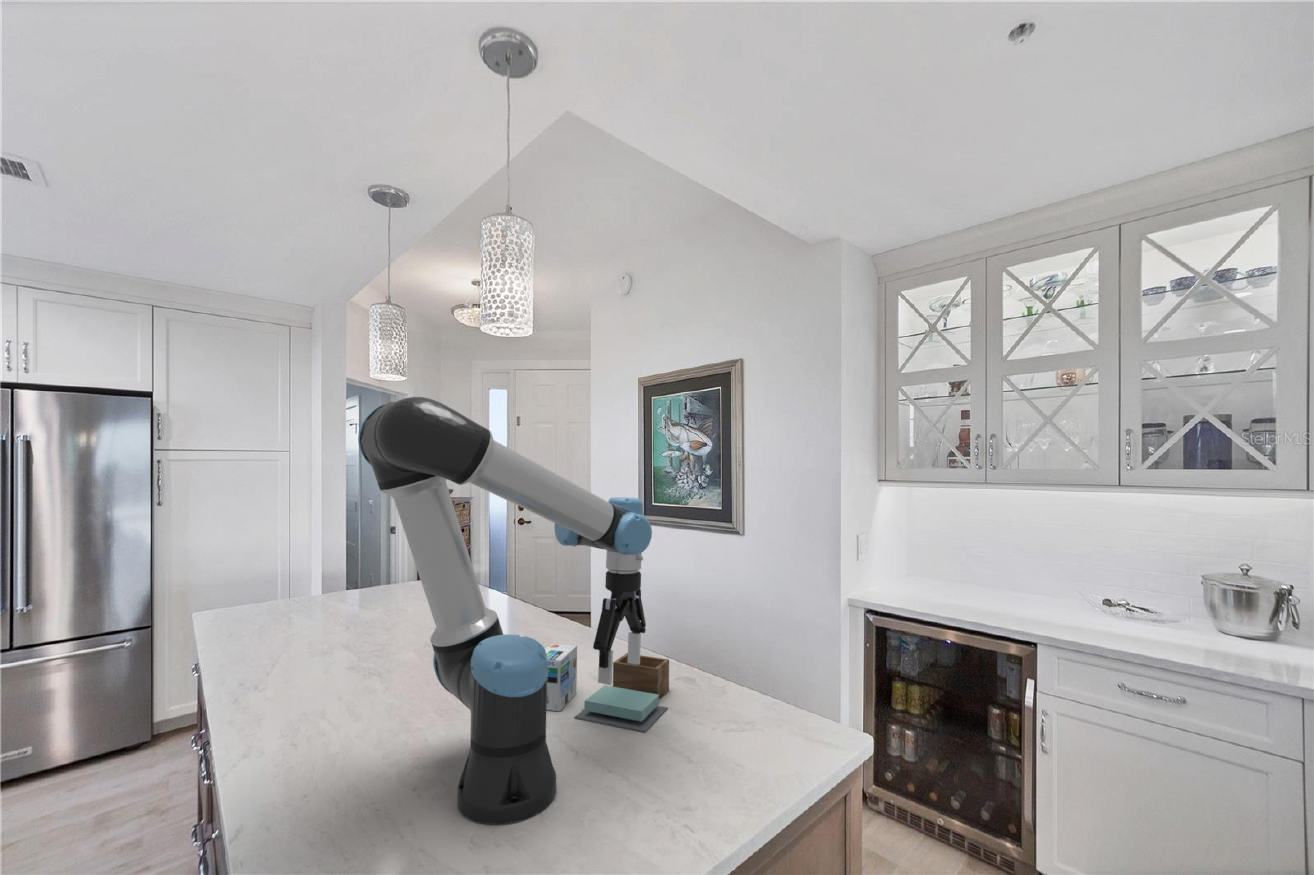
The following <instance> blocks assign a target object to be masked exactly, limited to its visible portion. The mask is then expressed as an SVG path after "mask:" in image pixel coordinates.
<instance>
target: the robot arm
mask: <svg viewBox="0 0 1314 875" xmlns="http://www.w3.org/2000/svg"><path fill="white" fill-rule="evenodd" d="M359 427H360V428H359V431H358V438H357V441H358V446H359V450H360V453H361V455H362V457H363V458H364V460H365V461H366V462H367V463H368V464H369V465H370V466H371V468H372V471H373V473H374V477H375V479H376V483H377V486H378V488H379V491H380V492H381V493H383V494H385V495H388V496H390V497H391V498H392V499H393V501H394V503H395V507H396V510H397V513H398V515H399V519H400V523H401V525H402V528H403V531H404V533H405V534H404V535H405V537H406V541H407V543H408V546H409V549H410V553H411V555H412V558H413V561H414V564H415V566H416V570H417V571H416V572H417V573H418V576H419V577H418V578H419V580H420V582H421V585H422V588H423V591H424V594H425V597H426V600H427V603H428V606H429V610H430V612H431V615H432V619H433V622H434V624H435V625H434V626H435V629H434V630H433V632H432V634H431V635H430V636H431V637H430V640H429V641H430V643H431V646H432V649H433V652H434V653H433V657H432V658H433V659H432V660H433V661H432V663H433V670H434V673H435V676H436V678H437V680H438V682H439V683H440V685H441V686H442V687H443V689H445V690H446V692H448V693H450V694H452V695H453V696H454V697H455V698H456V699H457V700H459V701H460V703H462V704H463V705H464V706H465V707H466V708H467V709H468V710H469V711H470V740H469V741H470V742H469V743H470V745H469V752H468V755H467V758H466V759H465V763H464V766H463V770H462V773H461V775H460V779H459V782H458V784H457V791H456V800H457V801H456V806H457V809H458V810H459V813H461V815H462V816H464V817H465V818H467V819H468V820H471V821H473V822H476V823H481V824H485V825H486V824H487V825H488V824H489V825H502V824H511V823H515V822H519V821H522V820H526V819H528V818H531V817H533V816H535V815H537V814H538V813H540V812H542V811H543V810H545V809H546V808H547V807H548V806H549V805H550V804H551V803H552V802H553V801H554V799H555V797H556V793H557V774H556V773H557V772H556V770H555V767H554V765H553V762H552V757H551V754H550V750H549V747H548V745H547V744H548V743H547V710H546V708H547V677H548V665H547V656H546V651H545V647H544V646H543V644H541V642H539V641H538V640H536V639H534V638H533V637H529V636H520V634H504V633H503V629H502V626H501V623H500V619H499V617H498V613H497V612H496V611H495V610H493V609H490V608H487V607H486V605H485V602H484V598H483V596H482V593H481V592H482V591H481V590H480V586H479V583H478V580H477V577H476V576H477V575H476V573H475V570H474V567H473V563H472V560H471V557H470V553H469V551H468V548H467V545H466V541H465V539H464V535H463V532H462V529H461V526H460V522H459V519H458V516H457V513H456V509H455V506H454V504H453V501H452V497H451V494H450V491H449V488H448V484H447V481H450V482H452V483H455V484H457V485H458V486H463V485H465V484H469V483H470V484H471V485H474V486H476V487H478V488H480V489H483V490H484V491H487V492H489V493H491V494H493V495H495V496H497V497H499V498H501V499H503V500H506V501H507V502H510V503H512V504H514V505H515V506H518V507H521V508H522V509H524V510H527V511H529V512H531V513H533V514H534V515H535V514H536V515H538V516H540V517H542V518H543V519H546V520H547V521H550V522H552V523H554V529H553V530H554V535H555V538H556V541H557V542H558V543H559V544H560V545H562V546H565V547H566V546H568V547H569V546H572V547H576V546H584V547H591V548H595V549H600V550H606V556H605V557H606V558H605V559H606V560H605V568H606V569H607V571H606V572H605V584H604V586H605V589H606V590H608V591H610V593H611V594H610V598H603V600H602V604H601V605H602V607H601V613H600V616H599V617H600V618H599V620H598V621H599V622H598V625H597V629H596V634H595V637H594V640H593V641H594V642H593V648H592V649H593V650H595V651H599V652H598V678H597V679H598V680H597V683H598V684H603V685H607V686H611V685H613V662H614V650H613V649H612V647H613V645H614V641H615V638H616V635H617V632H618V630H619V626H620V624H621V622H623V620H624V619H625V620H626V622H627V624H628V628H629V630H630V631H629V632H628V636H627V639H628V640H627V644H628V645H627V653H628V662H627V663H631V664H637V665H639V664H640V655H641V647H642V646H641V645H642V644H641V643H642V642H641V641H642V634H646V624H647V623H646V619H645V613H644V607H643V601H642V590H641V587H642V573H641V571H640V570H642V561H643V560H644V556H642V553H643V552H645V550H647V548H648V547H649V545H650V543H651V540H652V535H653V529H652V524H651V522H650V521H649V520H648V518H647V517H646V516H644V506H643V505H644V503H643V500H642V499H640V498H638V497H625V496H623V497H619V496H617V497H610V498H608V501H606V500H605V499H603V498H601V497H599V496H597V495H596V494H594V493H592V492H590V491H589V490H587V489H585V488H583V487H581V486H579V485H578V484H576V483H573V482H572V481H570V480H567V479H566V478H564V477H563V476H561V475H559V474H557V473H556V472H553V471H551V470H550V469H548V468H547V467H544V466H542V465H541V464H539V463H537V462H535V461H534V460H532V459H529V458H527V457H525V455H522V454H520V453H518V452H516V451H515V450H512V449H511V448H509V447H508V446H505V445H503V444H502V443H500V442H498V441H496V440H495V439H494V437H493V433H492V431H491V430H489V429H488V428H486V427H484V426H482V425H480V424H479V423H477V422H475V421H474V420H472V419H471V418H468V417H467V416H465V415H464V414H462V413H460V412H458V411H456V410H454V409H453V408H451V407H449V406H448V405H445V404H444V403H442V402H439V401H437V400H435V399H432V398H429V397H425V396H424V397H422V396H411V397H410V396H409V397H405V398H402V399H399V400H397V401H392V402H391V401H389V402H387V403H384V404H382V405H379V406H378V407H376V408H374V409H373V410H372V411H371V412H370V413H369V414H368V415H367V416H366V417H365V418H364V420H363V422H362V423H361V426H359Z"/></svg>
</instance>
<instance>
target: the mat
mask: <svg viewBox="0 0 1314 875" xmlns="http://www.w3.org/2000/svg"><path fill="white" fill-rule="evenodd" d="M668 709H669V707H668V706H663V705H658V706H657V707H656V708H655V709H654V710H653V711H652V712H651V713H650V714H649V715H648V716H647V717H646V718H645V719H644V720H643V721H642V722H641V721H636V720H631V719H626V718H621V717H616V716H611V715H605V714H600V713H595V712H590V711H585V710H584V709H582V710H581V711H580V712H579V713H578V714H576V715H575V716H574V717H573V718H574V719H575V720H580V721H586V722H591V723H594V724H595V723H596V724H601V725H606V726H610V727H614V728H621V729H626V730H630V731H636V732H640V733H645V734H646V733H647V732H648V730H650V729H651V728H652V727H653V726H654V725H655V723H656V722H658V720H659V719H660V718H661V717H662V716H663V715H664V713H665V712H667V711H668Z"/></svg>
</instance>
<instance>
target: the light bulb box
mask: <svg viewBox="0 0 1314 875" xmlns="http://www.w3.org/2000/svg"><path fill="white" fill-rule="evenodd" d="M544 649H545V651H546V656H547V665H548V677H547V708H546V711H553V712H561V711H562V710H563V709H564V708H565V707H566V706H567V704H568V703H570V701H571V700H573V698H574V697H575V696H576V695H577V689H578V688H577V687H578V686H577V678H578V675H577V672H578V670H577V669H578V646H577V645H568V644H567V645H566V644H556V643H550V644H549V645H548V646H547V647H544Z"/></svg>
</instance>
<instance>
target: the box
mask: <svg viewBox="0 0 1314 875" xmlns="http://www.w3.org/2000/svg"><path fill="white" fill-rule="evenodd" d="M627 662H628V652H627V653H625V654H623V655H622V656H620V657H619V658H617V659H616V660H614V661H613V669H612V687H618V688H624V689H629V690H635V691H641V692H647V693H652V694H658V695H659V701H660V700H661V699H662V698H663V697H664V696H665V695H666V694H667V693H668V692H669V691H670V659H667V658H660V657H655V656H654V657H653V656H648V655H641V654H640V664H639V665H637V664H631V663H627Z"/></svg>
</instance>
